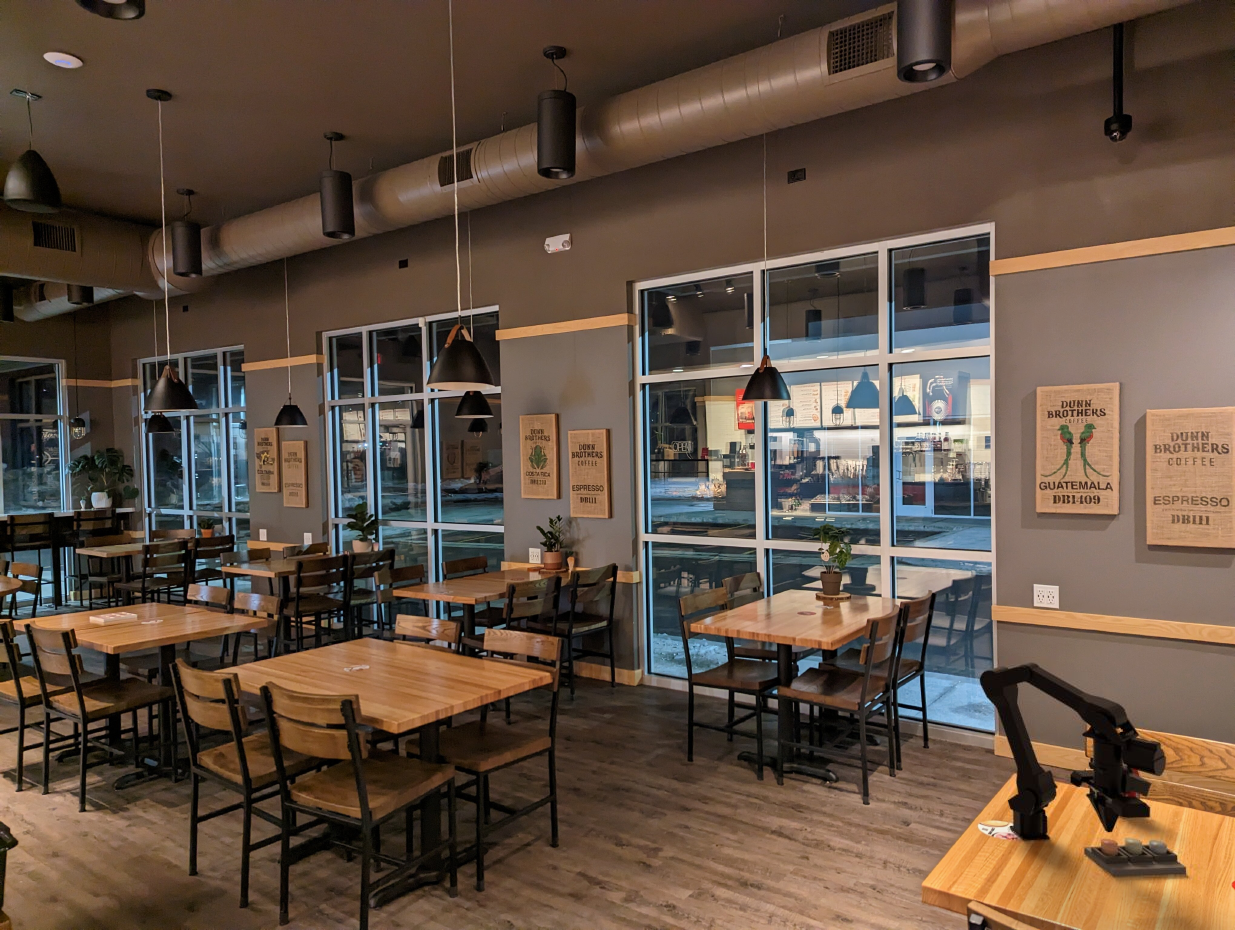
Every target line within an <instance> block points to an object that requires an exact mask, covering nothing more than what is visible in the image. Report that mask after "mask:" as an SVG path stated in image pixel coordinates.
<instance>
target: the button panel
mask: <svg viewBox="0 0 1235 930" xmlns="http://www.w3.org/2000/svg"><path fill="white" fill-rule="evenodd" d="M1083 851H1084V853H1083V854H1084V855H1085V856H1087V858H1088V859H1090V860H1091V861H1092V862H1094V863H1095V864H1097V866H1099V867H1100V868H1102V869H1103V871H1106V872H1107V873H1108V874H1109V875H1110V876H1112V877H1113V878H1119V877H1120V878H1124V877H1125V878H1127V877H1148V876H1149V877H1150V876H1173V875H1174V876H1175V875H1187V867H1186V866H1185V865H1184V864H1182V863H1181V862H1179V861H1178V855H1177V854H1176V853H1174V851H1172V850H1170V849H1168V848H1167V854H1161V855H1155V854H1154V853H1153V852H1151V851H1150V850H1149V844H1142V854H1140V855H1136V854H1131V853H1129V852H1127V851H1126V850H1125V845H1118V855H1116V856H1111V855H1107V854H1104V853H1103V852H1102V851H1101V846H1086V847H1085V846H1084V847H1083Z"/></svg>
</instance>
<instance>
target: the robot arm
mask: <svg viewBox="0 0 1235 930" xmlns="http://www.w3.org/2000/svg"><path fill="white" fill-rule="evenodd" d="M1020 683H1028V684H1029V685H1031V686H1032V687H1034V688H1036V689H1037V690H1039V691H1041V692H1043V693H1045V694H1046V695H1048V696H1050V697H1051V698H1053V699H1055V700H1056V701H1058V702H1060V703H1061V704H1063V705H1065V706H1067V707H1068V708H1070V709H1072V710H1073V711H1074V712H1075V713H1077V715H1078V716H1079V718H1081V720H1082V721H1083V722H1085V723H1086V724H1087V725H1088V726H1089V728H1088V729H1087V730H1085V731H1084V732H1082V734H1081V735H1082V736H1083V737H1085V738H1087V739H1088V738H1089V739H1092V761H1088V767H1089V768H1090V769H1086V770H1085V769H1084V770H1082V769H1081V770H1073V771H1072V772H1071V773H1070V782H1069V783H1071V784H1072V785H1074V786H1075V787H1076V788H1080V787H1082V786H1083V783H1084V784H1086V785H1087V788H1088V789H1089V790H1088V791H1089V793H1085V795H1086V797H1087V799H1088V800H1089V802H1090V803H1091V806H1092V808H1093V809H1094V811H1095V813H1096V815H1097V817H1098V819H1099V821H1100V823H1101V826H1102V827H1103V829H1104V831H1105V832H1106V833H1113V831H1114V828H1115V827H1116V824H1117V821H1118V819H1119V818H1120V817H1121V818H1125V819H1141V818H1142V819H1143V818H1150V817H1151V807H1150V805H1148V803H1146V802H1144V801H1143V800H1141V798H1140V799H1138V798H1137V797H1135V796H1133V797H1127V796H1125V795H1124V794H1122V793H1125V794H1131V791H1133V792H1136V793H1139V794H1140V795H1142V797H1146V798H1147V797H1148V795H1149V793H1150V792H1149V791H1150V789H1151V786H1152V782H1150V781H1148V780H1147V779H1145V778H1144V777H1141V776H1140V775H1139V776H1138V775H1136V774H1134V773H1133V769H1135V770H1138V772H1142V773H1145V774H1149V775H1153V776H1155V777H1156V776H1157V777H1160V776H1162V775H1163V773H1164V772H1165V770H1166V769H1165V768H1166V764H1167V757H1166V756H1165V751H1164V750H1163V748H1162V743H1161V742H1160V741H1155V740H1149V739H1145V738H1141V737H1139V736H1140V734H1139V732H1138V731H1137V729H1136V728H1135V727H1134V725H1133V723H1132V722H1131V721H1130V719H1129V718H1128V715H1127V712H1126V709H1125V708H1124V707H1123V705H1121V704H1119V703H1117V702H1115V701H1112V700H1110V699H1107V698H1105V697H1102V696H1097V695H1094V694H1090V693H1087V692H1084V691H1083V690H1081V689H1079V688H1078V687H1076V686H1074V685H1072V684H1071V683H1069V682H1067V681H1065V680H1064V679H1062V678H1060V677H1058V676H1056V675H1055V674H1052V673H1050V672H1049V671H1047V670H1045V669H1044V668H1042V667H1040V666H1039V665H1038V664H1037V663H1035V662H1032V661H1031V662H1027V663H1024V664H1020V665H1019V666H1015V667H1011V668H1009V667H1006V666H1004V665H1003V666H997V667H994V668H990V669H988V670H984V671H983V672H982V673H981V675H980V677H979V685H980V686H981V689H982V690H983V692H984V694H985V697H986V698H987V700H989V702H991V704H992V705H993V706H994V707H995V708H996V710H997V714H998V716H999V719H1000V722H1001V724H1002V729H1003V731H1004V734H1005V737H1006V739H1007V742H1008V745H1009V748H1010V751H1011V754H1012V757H1013V760H1014V763H1015V765H1016V780H1015V784H1016V790H1017V793H1016V794H1015V795H1013V796H1012V797H1011V798H1009V799H1008V800H1007V802H1008V806H1009V809H1010V810H1011V811H1012V825H1009V829H1010V830H1011V831H1012V830H1013V831H1014V832H1013V831H1012V832H1013V833H1015V835H1017V837H1019V838H1020V839H1021V840H1023V841H1040V840H1042V841H1043V840H1050V839H1051V837H1050V835H1048V815H1046V811H1047V810H1045V808H1048V807H1049V805H1050V803H1051V802H1053V801H1054V800H1055V799H1056V797H1057V793H1058V792H1057V789H1058V788H1059V787H1058V785H1057V784H1056V782H1055V780H1054V776H1053V772H1052V771H1051V770H1045V769H1044V768H1043V767H1042V766H1041V765H1040V764H1039V761H1038V759H1037V756H1036V752H1035V750H1034V748H1033V747H1034V746H1033V744H1032V741H1031V739H1030V735H1029V732H1028V730H1027V728H1026V725H1025V722H1024V719H1023V716H1022V713H1021V710H1020V707H1019V705H1018V699H1019V697H1018V696H1019V687H1018V685H1019V684H1020ZM1119 729H1120V730H1121V731H1120V732H1119V731H1118V730H1119ZM1123 763H1124V765H1123ZM1126 765H1127V766H1126Z"/></svg>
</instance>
